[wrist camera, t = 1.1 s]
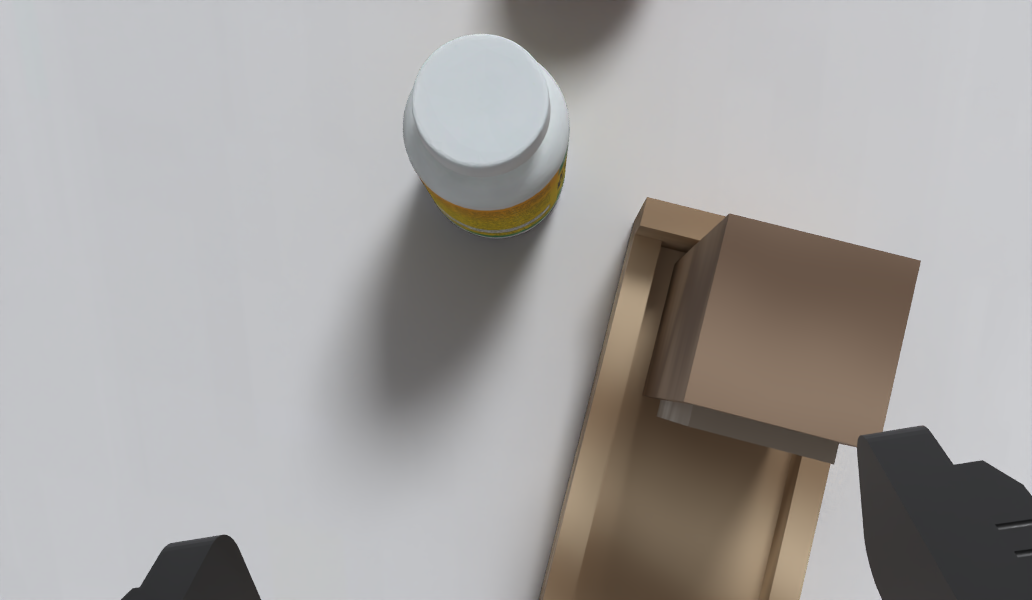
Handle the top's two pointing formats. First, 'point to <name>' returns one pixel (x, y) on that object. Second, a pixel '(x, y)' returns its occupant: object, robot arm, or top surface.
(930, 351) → the top surface
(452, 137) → the supplement bottle
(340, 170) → the top surface
